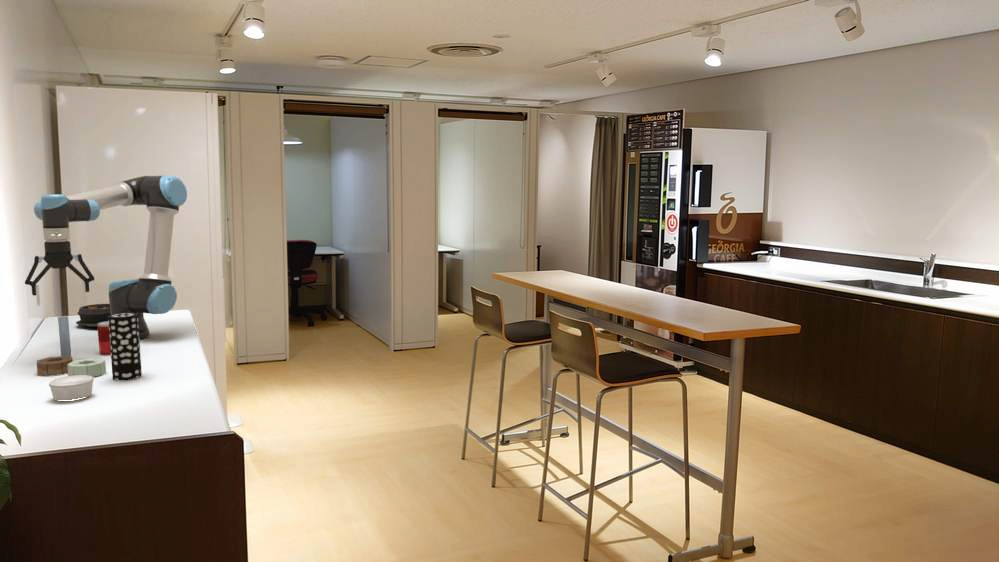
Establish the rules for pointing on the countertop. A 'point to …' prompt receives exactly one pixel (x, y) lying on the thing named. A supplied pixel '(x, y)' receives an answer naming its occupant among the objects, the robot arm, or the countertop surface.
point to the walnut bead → (53, 365)
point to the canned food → (104, 338)
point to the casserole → (93, 314)
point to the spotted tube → (124, 346)
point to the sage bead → (87, 367)
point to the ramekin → (71, 387)
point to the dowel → (64, 336)
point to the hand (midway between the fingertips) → (62, 303)
